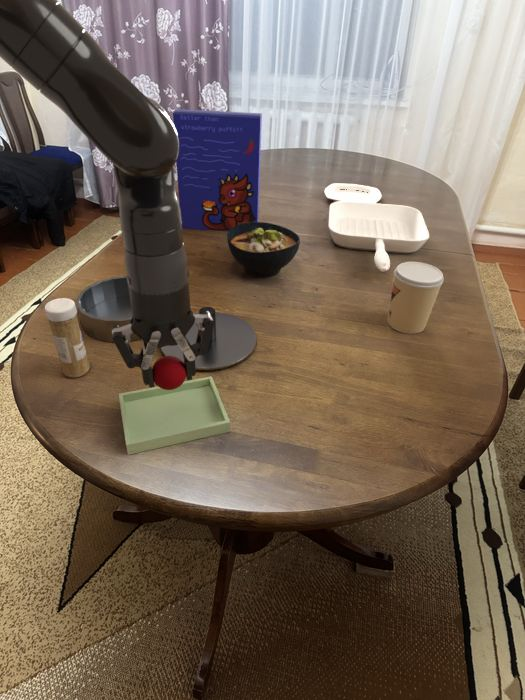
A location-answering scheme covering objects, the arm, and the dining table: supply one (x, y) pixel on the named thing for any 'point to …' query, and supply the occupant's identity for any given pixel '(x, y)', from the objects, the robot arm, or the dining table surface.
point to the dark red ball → (169, 372)
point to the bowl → (262, 247)
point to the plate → (352, 193)
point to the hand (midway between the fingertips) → (169, 380)
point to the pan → (377, 228)
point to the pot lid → (220, 342)
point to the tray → (172, 415)
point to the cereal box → (218, 168)
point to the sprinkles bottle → (67, 336)
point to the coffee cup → (413, 296)
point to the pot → (105, 308)
